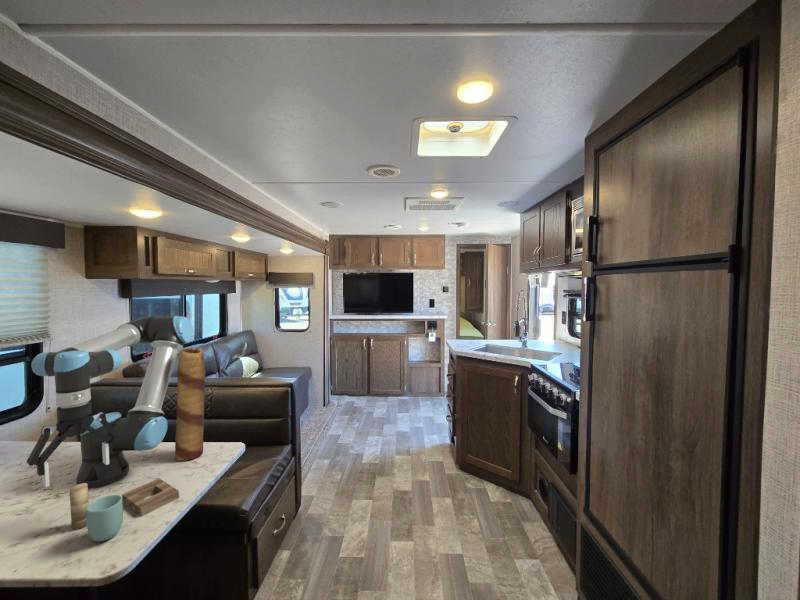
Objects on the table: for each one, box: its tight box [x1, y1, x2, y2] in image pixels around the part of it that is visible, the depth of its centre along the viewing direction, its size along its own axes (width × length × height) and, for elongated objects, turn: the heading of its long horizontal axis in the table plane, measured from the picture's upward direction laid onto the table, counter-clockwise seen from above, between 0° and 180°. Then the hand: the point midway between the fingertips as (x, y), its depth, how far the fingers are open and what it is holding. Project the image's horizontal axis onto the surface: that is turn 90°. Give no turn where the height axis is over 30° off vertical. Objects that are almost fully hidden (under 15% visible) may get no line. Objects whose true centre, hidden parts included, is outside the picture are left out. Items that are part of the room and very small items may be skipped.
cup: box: [86, 494, 124, 543], centre depth 100 cm, size 8×8×10 cm
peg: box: [69, 483, 90, 531], centre depth 104 cm, size 4×4×12 cm
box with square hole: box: [121, 478, 180, 517], centre depth 117 cm, size 14×11×2 cm
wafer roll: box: [174, 347, 206, 462], centre depth 144 cm, size 10×11×45 cm
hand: (77, 473), depth 104 cm, fingers open, 13 cm apart
